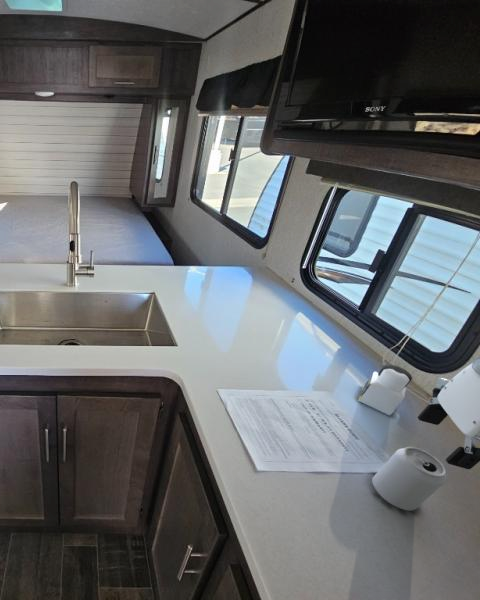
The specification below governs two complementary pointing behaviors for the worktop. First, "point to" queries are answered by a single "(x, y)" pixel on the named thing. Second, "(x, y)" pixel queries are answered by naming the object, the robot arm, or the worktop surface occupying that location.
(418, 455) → the can
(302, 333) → the worktop surface
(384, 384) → the white piece
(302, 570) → the worktop surface
